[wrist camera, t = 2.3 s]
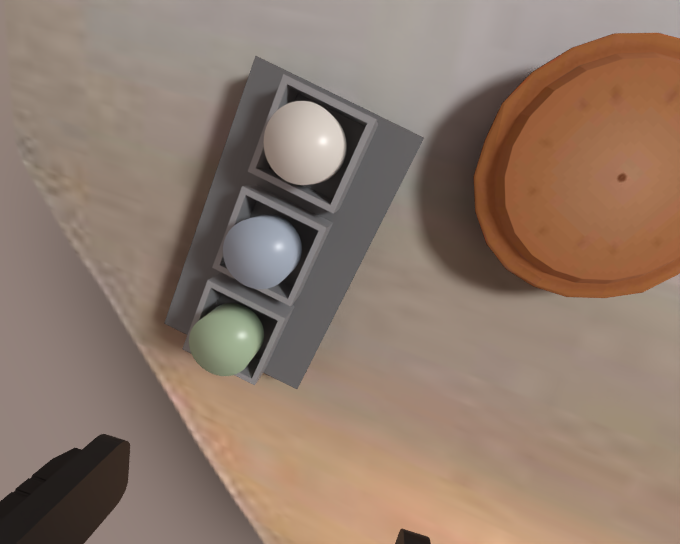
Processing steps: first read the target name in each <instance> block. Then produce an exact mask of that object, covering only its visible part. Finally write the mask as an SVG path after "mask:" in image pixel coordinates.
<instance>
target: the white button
mask: <svg viewBox="0 0 680 544" xmlns="http://www.w3.org/2000/svg"><path fill="white" fill-rule="evenodd" d="M346 150H347V142H346V137H345V133H344V131H343V129H342V127H341V125H340V124H339V122H338V121H337V120H336V119H335V118H334V117H333V116H332V115H331V114H330V113H329V112H328V111H327V110H326V109H324V108H323V107H321V106H320V105H318V104H315V103H313V102H309V101H295V102H291V103H288V104H286V105H284V106H282V107H281V108H280V109H278V110H277V111H276V112H275V113H274V114H273V116H272V117H271V118H270V120H269V122H268V124H267V126H266V129H265V133H264V151H265V155H266V158H267V161H268V163H269V165H270V166H271V168H272V169H273V170H274V172H275V173H276V174H277V175H278V176H280V177H281V178H282V179H284V180H286V181H287V182H290V183H293V184H297V185H309V184H316V183H321V182H324V181H326V180H328V179H330V178H331V177H333V176H334V175H335V174H336V173H337V172H338V171H339V169H340V168H341V166H342V164H343V162H344V160H345V156H346Z"/></svg>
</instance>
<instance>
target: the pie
mask: <svg viewBox="0 0 680 544" xmlns="http://www.w3.org/2000/svg"><path fill="white" fill-rule="evenodd" d="M474 195H475V212H476V215H477V218H478V221H479V224H480V226H481V229H482V232H483V235H484V238H485V241H486V244H487V245H488V246H489V247H490V249H491V250H492V251H493V253H494V254H495V255H496V257H497V258H498V259H499V260H500V262H501V263H502V264H503V266H504V267H505V268H506V269H507V270H508V271H510V272H512V273H513V274H515V275H516V276H518V277H520V278H521V279H523V280H524V281H526V282H527V283H529V284H531V285H532V286H534V287H537V288H540V289H544V290H547V291H550V292H553V293H556V294H559V295H562V296H565V297H588V298H608V297H615V296H622V295H628V294H635V293H642V292H644V291H646V290H648V289H650V288H652V287H654V286H656V285H658V284H660V283H662V282H664V281H666V280H668V279H670V278H672V277H674V276H676V275H678V274H679V273H680V38H676V37H672V36H668V35H664V34H660V33H618V34H611V35H608V36H606V37H603V38H600V39H597V40H594V41H591V42H588V43H585V44H582V45H579V46H576V47H573V48H571V49H569V50H567V51H566V52H564V53H562V54H561V55H559V56H558V57H556V58H554V59H553V60H551V61H549V62H548V63H546V64H544V65H543V66H541V67H540V68H538V69H536V70H535V71H533V72H531V74H530V75H529V76H528V77H527V78H526V79H525V80H524V81H523V82H522V83H521V84H520V85H519V86H518V87H517V88H516V89H515V90H514V91H513V92H512V93H511V94H510V95H509V97H508V98H507V99H506V100H505V101H504V102H503V103H502V105H501V107H500V109H499V111H498V113H497V115H496V117H495V120H494V122H493V124H492V126H491V128H490V130H489V132H488V135H487V137H486V139H485V141H484V145H483V148H482V151H481V154H480V158H479V161H478V164H477V167H476V171H475V174H474Z"/></svg>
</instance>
